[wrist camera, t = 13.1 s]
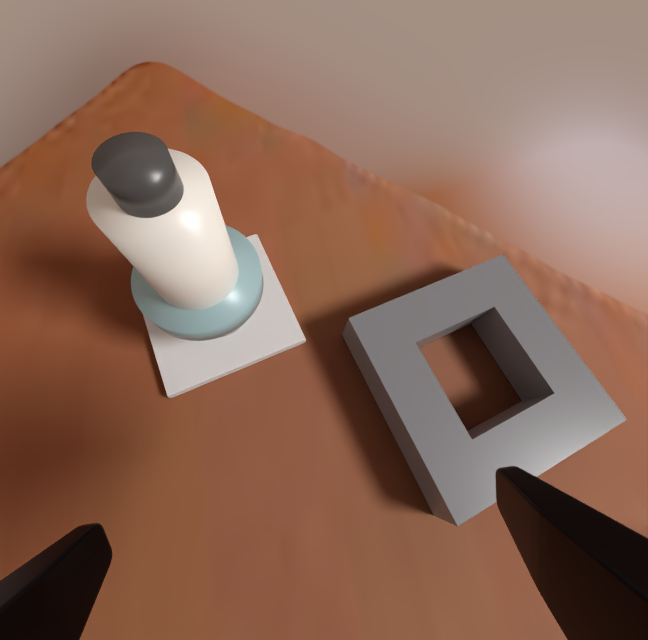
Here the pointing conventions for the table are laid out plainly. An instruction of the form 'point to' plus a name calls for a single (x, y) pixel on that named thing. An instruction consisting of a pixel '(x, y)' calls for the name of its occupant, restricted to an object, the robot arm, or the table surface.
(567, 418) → the socket block
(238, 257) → the capped white bottle
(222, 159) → the table surface
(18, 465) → the table surface
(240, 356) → the rest pad
